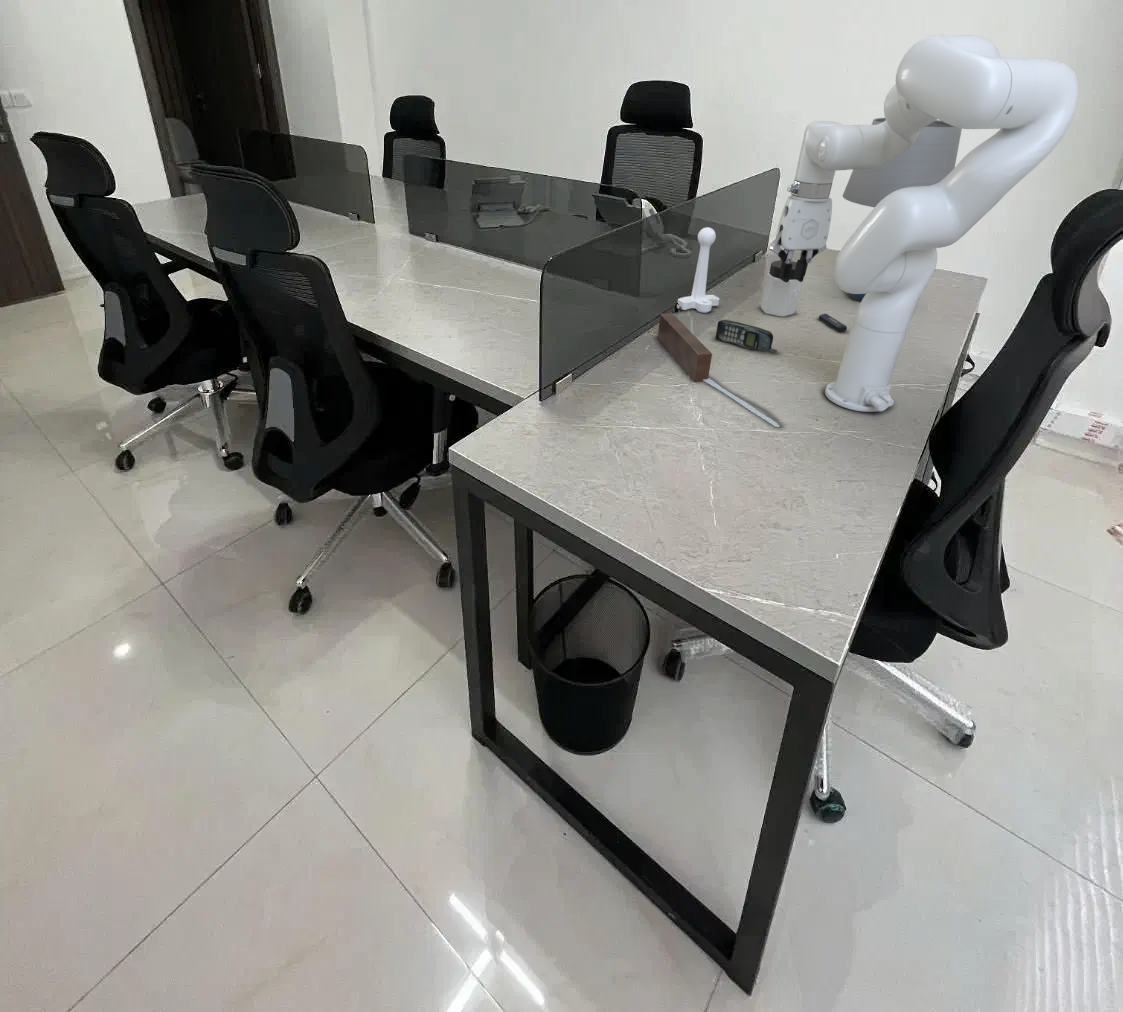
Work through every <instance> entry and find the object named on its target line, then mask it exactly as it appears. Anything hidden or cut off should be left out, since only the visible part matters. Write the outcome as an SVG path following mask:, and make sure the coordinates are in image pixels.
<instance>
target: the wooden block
mask: <svg viewBox="0 0 1123 1012" xmlns="http://www.w3.org/2000/svg"><path fill="white" fill-rule="evenodd" d="M658 321H659V322H658V330H657V340H658V342H660V343H661V344H662V346H664V348H665V349H666V351H668V353H670V355H671V356H672V357H673V358H674V359H675V361H676V362H677V363H678V364H679V365H680V366H681V368H682V369H683V370H684V371H685V372H686V373H687V374H688V375H689V377H690V378H691V379H692V381H694V382H704V381H703V380H704V379H708V378H709V376H710V371H711V370H710V369H711V364H712V359H713V353H712V352H711V350H709V349H708V348H707V347H706V346H705V344H704V343H702V342H701V341H700V340H699V338H698V337H696V336H695V335H694V333H693V332H692V331H691V330H690V329H689V328H688V327H687V326H686V325H685V324H683V322H682V321H681V320H680V319H679V318H678V317H677V316H676V315H675V314H673V312H669V313H667V312H666V313H660V314H659V320H658Z"/></svg>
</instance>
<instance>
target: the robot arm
mask: <svg viewBox="0 0 1123 1012" xmlns="http://www.w3.org/2000/svg"><path fill="white" fill-rule="evenodd" d="M1079 94H1080V88H1079V81H1078V77H1077V75H1076V72H1075V71H1074V70H1073V69H1072V68H1071V67H1070V66H1069V65H1068V64H1067V63H1064V62H1062V61H1060V60H1056V59H1052V58H1044V57H1010V56H1009V57H1007V56H1005V57H1004V56H1003V57H1002V56H1000V51H999V48H998V47H997V45H996V44H995V43H994V42H993V41H992V40H990V39H989V38H987V37H984V36H982V35H974V34H945V33H943V34H941V33H940V34H939V33H938V34H931V35H928V36H925V37H923V38H921V39H920V40H918V41H917V42H915V43H914V44H913V45H912V46H911V47H909V49H908V50H907V51H906V52H905V53H904V55H903V56H902V58H901V60H900V62H899V64H898V67H897V70H896V73H895V84H894V85H893V86H892V87H891V88H890V89H889V90H888V92H887V94H886V96H885V99H884V103H883V112H884V118H885V119H886V121H884V122H882V123H880V124H877V125H871V124H847V125H844V124H843V123H841V122H837V121H833V120H832V121H831V120H830V121H829V120H814V121H811V122H809V123H808V124H807V125H806V126H805V129H804V133H803V138H802V142H801V147H800V151H799V157H798V162H797V166H796V171H795V176H794V179H793V182H792V184H788V186H787V188H786V190H787V192H788V193H790V194H791V195H789V196H787V199H786V201H785V204H784V206H783V209H782V212H781V215H780V217H779V222H778V225H777V229H776V233H775V239H774V241H773V242H772V244H771V245H770V247H769V250H770V251H771V252H773V253H774V254H776V255H777V256H778V257H779V260H781V261H782V264H781V268H780V273H779V276H780V279H781V280H782V281H784V282H789V279H790V275H791V270H792V264H791V261H792V259H793V256H794V254H795V253H794V252H795V251H800V255H799V259H797V260H796V262H797V263H796V267H795V272H794V276H793V277H794V278H795V279H796V280H798V281H800V282H802V283H803V282H804V279H805V276H806V274H807V269H808V265H809V264H810V263H811V262H812V260H813V259H814V257H816V256H817V255H818V254H819V253H821V252H823V251H825V250H826V249H827V242H828V238H829V233H830V227H831V221H832V213H833V212H832V211H833V198H832V197H830V195H831V190H832V187H833V182H834V178H835V176H836V175H835V174H836V171H848V170H849V171H850V170H852V171H853V169H872V168H876V167H879V166H882V165H884V164H886V163H888V162H889V161H891V160H893V159H895V158H896V157H898V156H900V155H902V154H903V153H905V152H906V151H907V150H909V148H910V147H911V146H912V145H913V144H914V142H915V141H916V139H917V137H918V136H919V134H920V131H921V129H922V128H924V127H926V126H927V125H929V124H931V123H932V122H934V121H936V120H940V121H943V122H945V123H947V124H949V125H951V126H954V127H957V128H962V130H997V131H996V132H995V133H994V134H993V135H992V136H990V137H989V138H987V139H986V140H984V141H983V142H981V143H980V144H978V145H977V146H975V147H974V148H973V149H972V150H970V151H969V152H968V153H967V154H965V156H964V157H963V158H962V159H961V160H960V161H959V162H958V163H957V164H956V165H955V168H954V169H953V170H952V171H951V172H950V173H949V174H948V175H947V176H946V177H945V178H944V179H943V180H941V181H940V182H939V183H937V184H934V185H930V186H918V187H907V188H902V189H899V190H896V191H894V192H892V193H891V194H889V195H887V196H886V197H885V198H884V199H882V200H881V201H880V202H879V203H878V204H877V205H876V206H875V207H873V209H872V210H871V211H870V212H869V214H867V216H866V217H865V218H864V220H862V222H861V223H860V224H859V226H858V227H857V228H856V229H855V230H854V231H853V233H852V234H851V236H849V238H848V239H847V240H846V241H845V243H844V244H843V246H842V247H841V249H840V250H839V251H838V254H837V256H836V259H835V262H834V267H833V277H834V281H835V284H836V285H837V287H838V288H839V289H840V290H842V291H843V292H845V293H847V294H848V293H851V294H866V295H865V296H864V298H863V300H862V301H860V303H859V305H858V307H857V310H856V313H855V315H854V319H853V322H852V326H851V329H850V332H849V337H848V339H847V343H846V346H845V350H844V353H843V357H842V360H841V363H840V366H839V369H838V373H837V377H836V379H835V380H833V381H831V382H829V383H827V385H826V386H825V390H824V395H825V396H826V398H827V399H828V401H830V402H832V404H833V403H834V404H835V405H837V406H839V407H842V408H844V409H848V410H852V411H855V412H864V413H876V412H885V411H886V409H888V408H890V407H892V406H893V405H894V404H895V400H894V399H893V398H892V395H891V394H890V390H891V388H892V387H891V386H890V385H889V384H890V381H891V377H892V375H893V372H894V369H895V366H896V363H897V361H898V358H899V355H900V352H901V350H902V346H903V343H904V341H905V337H906V335H907V332H908V330H909V326H910V324H911V320H912V318H913V316H914V313H915V310H916V308H917V305H918V303H919V301H920V299H921V297H922V295H923V293H924V291H925V290H926V288H927V286H928V284H929V282H930V281H931V279H932V277H933V275H934V273H935V271H936V268H937V265H938V264H937V263H938V252H937V249H942V248H946V247H949V246H951V245H953V244H955V243H957V242H958V241H959V240H960V239H962V238H963V237H964V236H965V235H966V234H967V233H968V232H969V231H971V229H972V228H973V227H974V226H976V224H977V223H978V222H979V221H980V220H981V219H983V218H984V217H985V216H986V215H987V214H988V212H991V210H992V209H994V208H995V206H996V205H997V204H998V203H999V202H1000V201H1001V200H1002V199H1003V198H1004V197H1005V196H1006V195H1007V194H1008V193H1009V192H1010V191H1011V190H1012V189H1013V188H1014V187H1015V186H1016V185H1017V184H1019V183H1020V182H1021V181H1022V180H1023V179H1025V178H1026V177H1027V176H1028V175H1030V173H1031V172H1033V170H1035V169H1036V168H1037V167H1038V166H1039V165H1040V164H1041V163H1042V162H1043V161H1044V160H1045V159H1046V158H1047V157H1048V156H1049V155H1050V154H1052V152H1053V151H1054V150H1055V149H1056V147H1057V146H1058V145H1059V144H1060V142H1061V141H1062V139H1063V138H1064V136H1065V135H1066V133H1067V132H1068V129H1069V128H1070V126H1071V124H1072V121H1073V119H1074V116H1075V113H1076V111H1077V108H1078V102H1079V97H1080V95H1079ZM781 247H782V248H781Z"/></svg>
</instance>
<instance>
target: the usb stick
mask: <svg viewBox="0 0 1123 1012" xmlns="http://www.w3.org/2000/svg"><path fill="white" fill-rule="evenodd" d="M818 319H819V320H820V321H822V322H824V323H825V324H826V325H828V326H830V327H831V328H833V329H834V330H836V331H838V332H840V333H841V332H842V333H843V332H846V331H847V330H848V326H847V325H846V324H844V323H842V322H841V321H839V320H837V319H836V318H834V317H832V316H831V315H829V314H828V313H821V314H820V315H819V316H818Z"/></svg>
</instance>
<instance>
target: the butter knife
mask: <svg viewBox="0 0 1123 1012" xmlns="http://www.w3.org/2000/svg"><path fill="white" fill-rule="evenodd" d="M702 382H704V383H706V384H707V385H709V386H710V387H712V388H714V389H715V390H717V391H719V392H720V393H723V394H724V395H726V396H727V397H729V398H731V399H733V400H734V402H737V403H738V404H740V405H741V406H743V407H744V408H745V409H747V410H749V411H750V412H752V413H753V414H755V415H756V416H758V417H760V418H761V419H763V420H764V421H766V422H767V423H769V424H770V425H772V426H773V427H776V428H779V427H780V424H779V423H777V422H776V421H775V420H773V419H772V418H770V417H768V416H766V414H764V413H762V412H760V411H759V410H757V409H756V408H754V407H753V405H750V403H748V402H747V401H745V400H743V399H741V398H739V397H738V396H736V395H734V394H733V393H731V392H729V391H728V390H727V389H725V388H723V387H722V386H720V384H718V383H717V382H715V380H713V379H711V378H710V377H708V379H704V380H703V381H702Z"/></svg>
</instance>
